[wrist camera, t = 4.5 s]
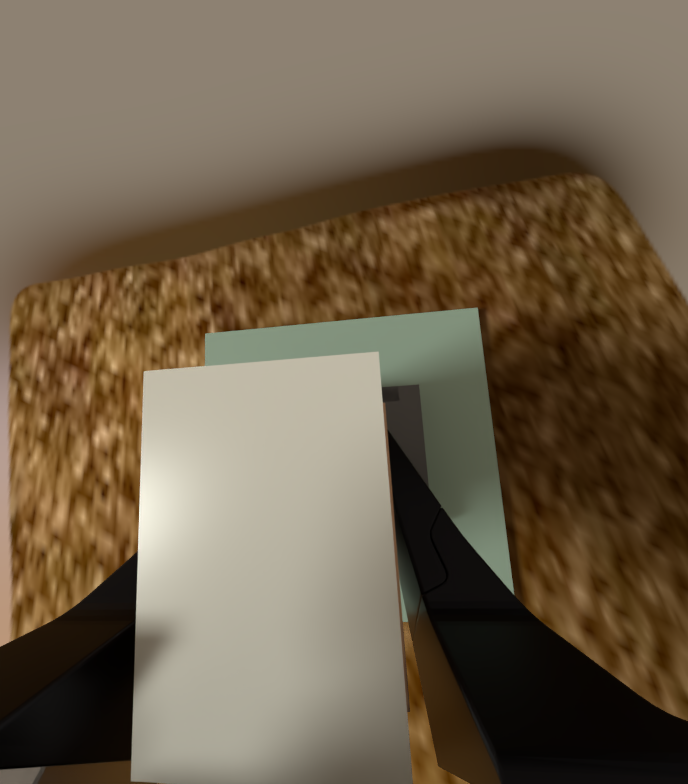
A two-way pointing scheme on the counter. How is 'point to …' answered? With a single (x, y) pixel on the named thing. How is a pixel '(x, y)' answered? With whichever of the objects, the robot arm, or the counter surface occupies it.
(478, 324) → the green socket board
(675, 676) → the counter surface
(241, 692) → the plug
